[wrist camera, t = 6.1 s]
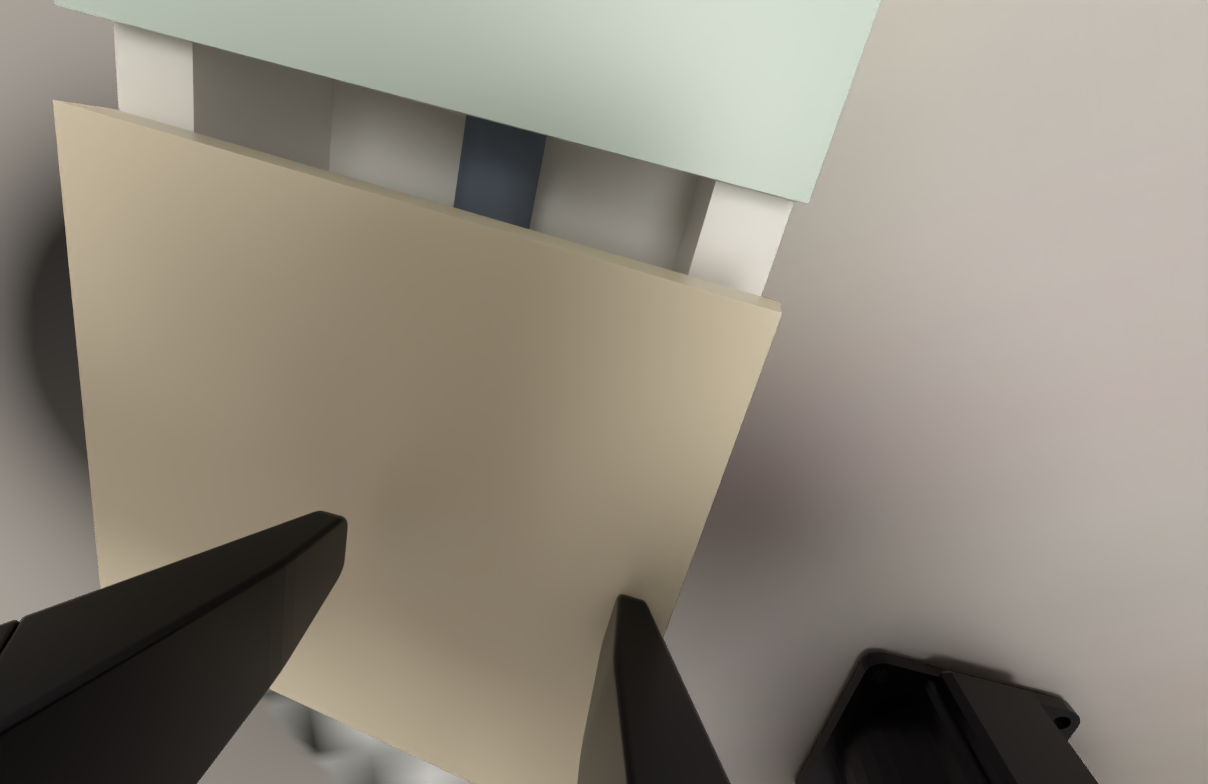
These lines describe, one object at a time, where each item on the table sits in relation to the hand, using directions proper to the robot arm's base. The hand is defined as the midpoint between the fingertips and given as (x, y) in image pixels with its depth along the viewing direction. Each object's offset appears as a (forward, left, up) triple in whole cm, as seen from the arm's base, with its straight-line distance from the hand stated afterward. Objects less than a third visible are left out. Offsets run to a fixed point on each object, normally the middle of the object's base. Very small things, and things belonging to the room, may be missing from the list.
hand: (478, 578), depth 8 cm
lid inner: (0, +2, -1) cm, 3 cm away
